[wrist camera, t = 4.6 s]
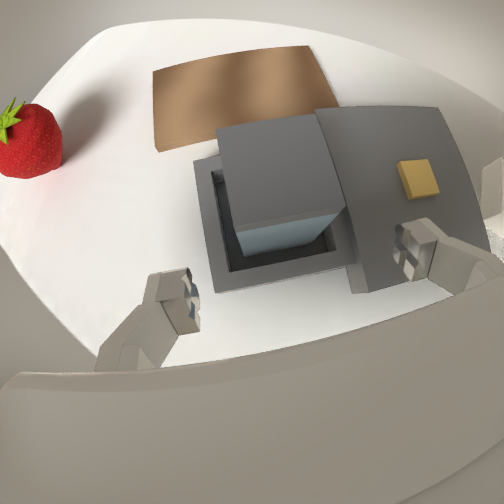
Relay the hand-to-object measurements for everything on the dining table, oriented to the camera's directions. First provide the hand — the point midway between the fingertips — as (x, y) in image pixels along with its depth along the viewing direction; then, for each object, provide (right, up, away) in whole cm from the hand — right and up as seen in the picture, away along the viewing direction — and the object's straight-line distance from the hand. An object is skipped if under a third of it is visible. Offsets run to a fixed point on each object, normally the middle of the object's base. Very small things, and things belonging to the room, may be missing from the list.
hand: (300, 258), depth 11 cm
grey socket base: (+5, +4, +8) cm, 10 cm away
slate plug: (0, +2, +8) cm, 9 cm away
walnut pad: (-3, +13, +10) cm, 17 cm away
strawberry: (-19, +8, +10) cm, 23 cm away
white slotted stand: (+21, +5, +8) cm, 23 cm away
